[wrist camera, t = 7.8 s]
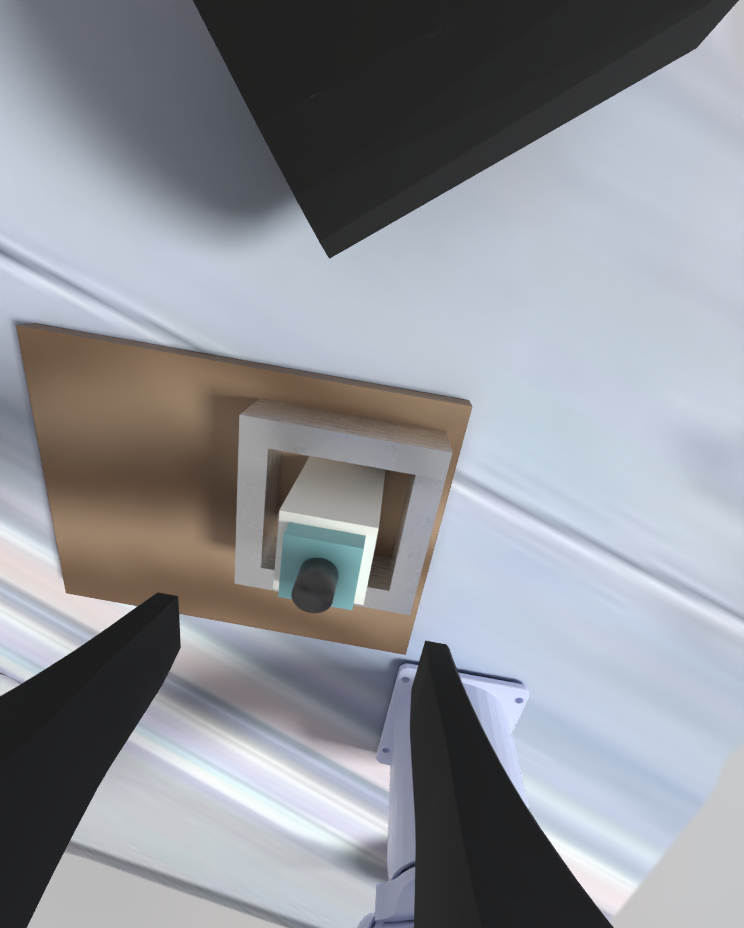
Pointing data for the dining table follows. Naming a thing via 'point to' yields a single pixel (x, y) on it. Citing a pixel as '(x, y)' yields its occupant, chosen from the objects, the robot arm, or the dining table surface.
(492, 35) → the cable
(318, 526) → the connector plug
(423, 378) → the dining table surface
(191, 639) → the dining table surface
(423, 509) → the end holder
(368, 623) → the board
